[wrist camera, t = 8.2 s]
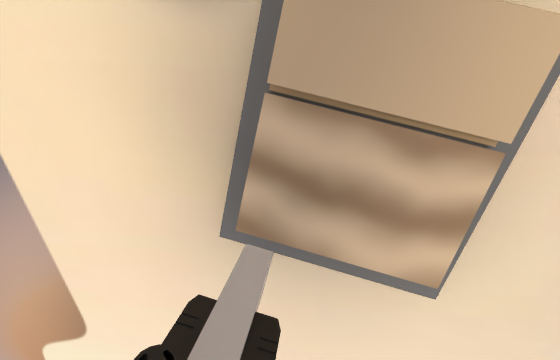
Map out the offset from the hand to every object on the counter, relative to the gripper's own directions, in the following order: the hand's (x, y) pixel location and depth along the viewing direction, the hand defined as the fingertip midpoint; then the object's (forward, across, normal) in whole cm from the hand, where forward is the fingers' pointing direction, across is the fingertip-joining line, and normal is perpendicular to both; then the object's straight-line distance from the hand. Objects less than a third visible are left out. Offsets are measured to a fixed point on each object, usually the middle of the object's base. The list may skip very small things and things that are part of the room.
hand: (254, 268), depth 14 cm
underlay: (+12, +6, +6) cm, 15 cm away
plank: (+11, +6, +2) cm, 13 cm away
